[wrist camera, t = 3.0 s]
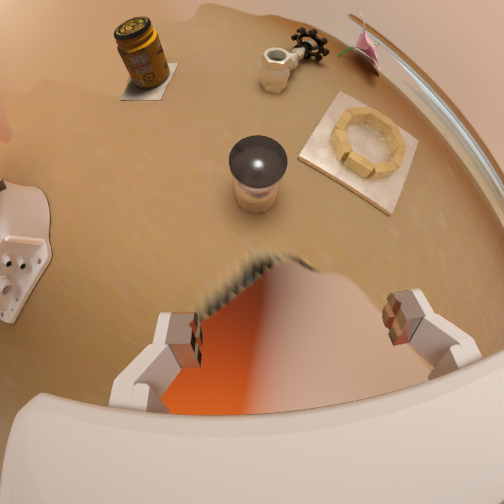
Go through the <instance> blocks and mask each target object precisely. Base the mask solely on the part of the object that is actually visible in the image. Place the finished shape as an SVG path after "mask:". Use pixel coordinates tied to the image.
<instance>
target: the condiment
mask: <svg viewBox="0 0 504 504" xmlns="http://www.w3.org/2000/svg"><path fill="white" fill-rule="evenodd" d="M114 37H115V39H116V43H117V44H118V47H117V49H118V52H119V54H120V56H121V58H122V60H123V62H124V64H125V66H126V68H127V70H128V72H129V74H130V76H131V78H132V79H131V81H130V83H129V84H128V86H127V88H126V90H125V92H124V93H123V95H122V97H121V99H120V100H161V98H162V96H163V94H164V91H165V89H166V87H167V85H168V83H169V81H170V79H171V77H172V75H173V73H174V71H175V69H176V67H177V65H178V63H167V61H166V58H165V55H164V52H163V49H162V46H161V43H160V40H159V37H158V34H157V32H156V31H155V29H153V26H152V25H151V21H150V20H149V18H147V17H135V18H132V19H129V20H127V21H126V22H124V23H122V24H121V25H120V26H119V27H117V29H116V30H115V32H114ZM134 86H135V87H134ZM154 89H155V90H154ZM153 90H154V91H153Z"/></svg>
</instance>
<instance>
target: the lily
mask: <svg viewBox="0 0 504 504" xmlns="http://www.w3.org/2000/svg"><path fill="white" fill-rule="evenodd" d="M359 13H360V11H359ZM360 15H361V13H360ZM361 18H362V20H363V17H362V15H361ZM363 24H364V27H363V30H362V33H361V35H360V37H359V40H358V41H357V44H356V45H355V46H353V47H350V48H348V49H346V50H345V51H343V52H342V53H340V54H339V55H338V57H339V56H341V55H342V54H343V53H345V52H346V51H348V50H350V49H353V48H359V49H360V50H362V51H363V52H365V53H366V54H367V55H369V56H370V57H371V58H372V60H373V61H374V63H375V65H376V67H377V63H378V62H377V59H378V56H377V52H376V49H375V46H374V45H375V44H373V43H374V42H372V41H371V40H370V39H368V36H367V33H366V31H365V23H364V20H363ZM375 42H376V41H375ZM376 44H378V45H379V43H376ZM376 47H377V46H376ZM376 62H377V63H376ZM378 66H379V64H378ZM377 70H378V67H377ZM379 70H380V66H379ZM379 70H378V73H379ZM379 77H380V76H379Z"/></svg>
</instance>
